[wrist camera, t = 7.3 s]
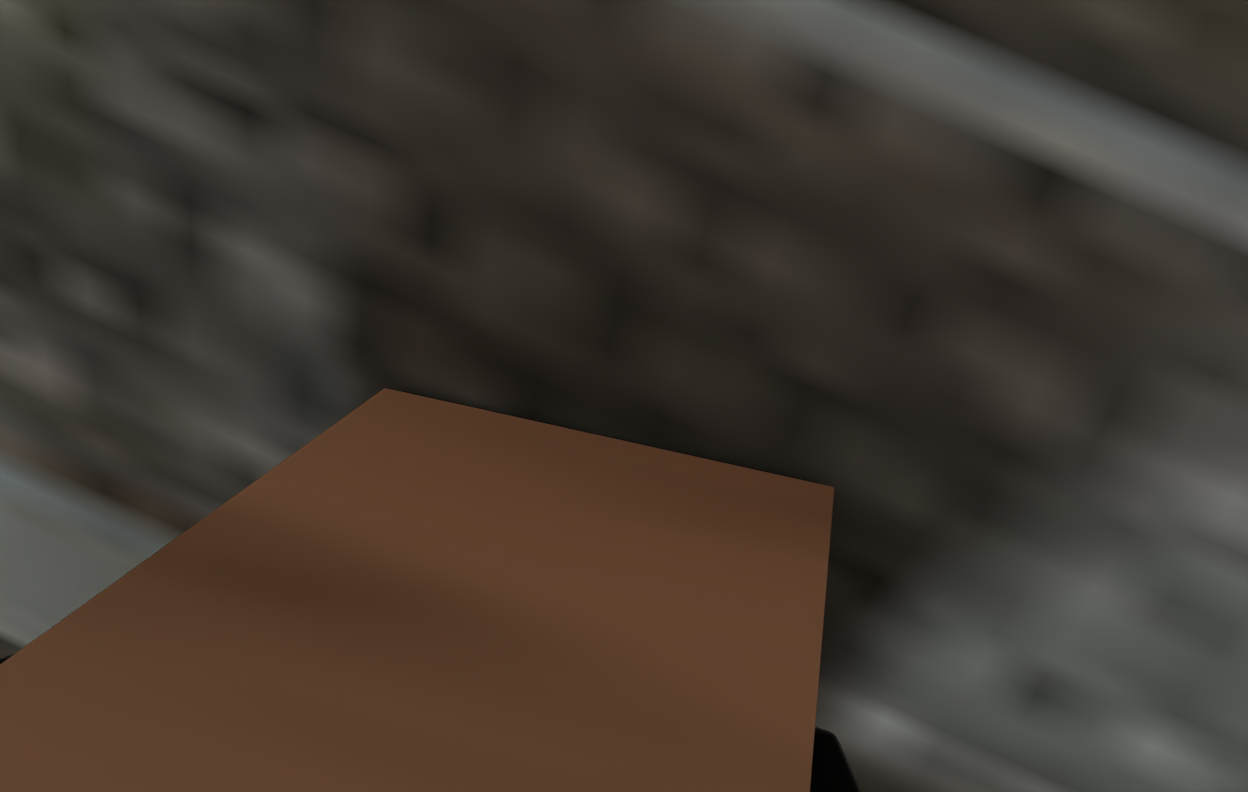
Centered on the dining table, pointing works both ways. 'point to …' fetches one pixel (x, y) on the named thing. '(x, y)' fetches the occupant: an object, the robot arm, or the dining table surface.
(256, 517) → the wooden mallet
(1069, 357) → the dining table surface
